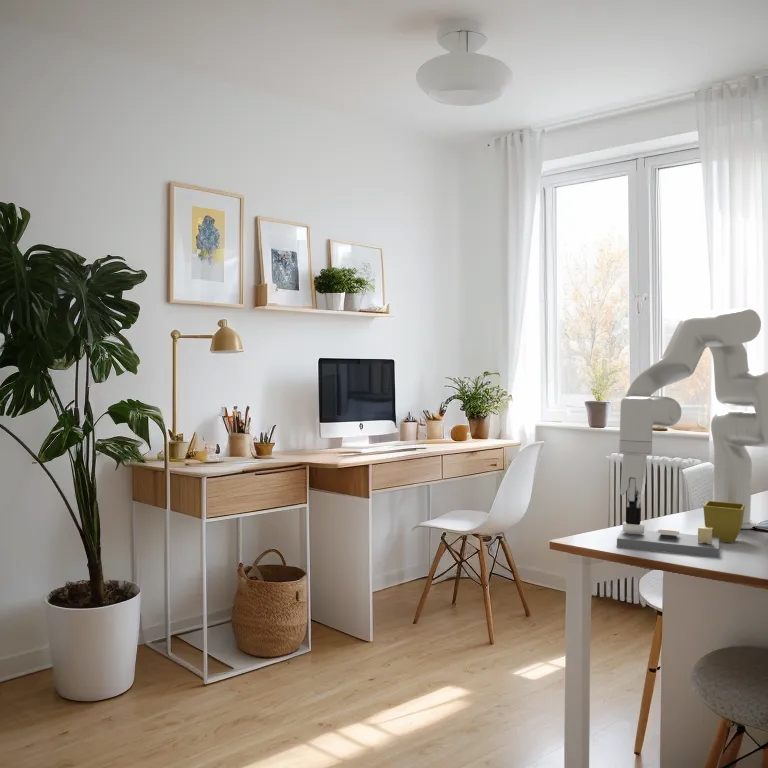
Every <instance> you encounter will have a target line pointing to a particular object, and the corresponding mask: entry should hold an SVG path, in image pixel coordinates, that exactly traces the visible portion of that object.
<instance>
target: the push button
mask: <svg viewBox="0 0 768 768" xmlns="http://www.w3.org/2000/svg"><path fill="white" fill-rule="evenodd" d="M645 526H646V524H645V523H642V522H640V524H639V525H635V524H626V521H623V522H622V530H623V532H625V533H630V534H643V533H644V530H645Z"/></svg>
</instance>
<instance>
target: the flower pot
mask: <svg viewBox="0 0 768 768" xmlns="http://www.w3.org/2000/svg"><path fill="white" fill-rule="evenodd" d="M702 507H703V518H704V527H708V528H712V537H719V543H720V542H721V543H727V544H728V543H729V544H734V543H735V542H736V539H737V538H738V535H739V534H740V531H741V530H742V529H741V526H742V522H743V516H744V509H745V504H738V503H728V502H717V501H713V500H707V501H706V503H704V504H703V506H702Z"/></svg>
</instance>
